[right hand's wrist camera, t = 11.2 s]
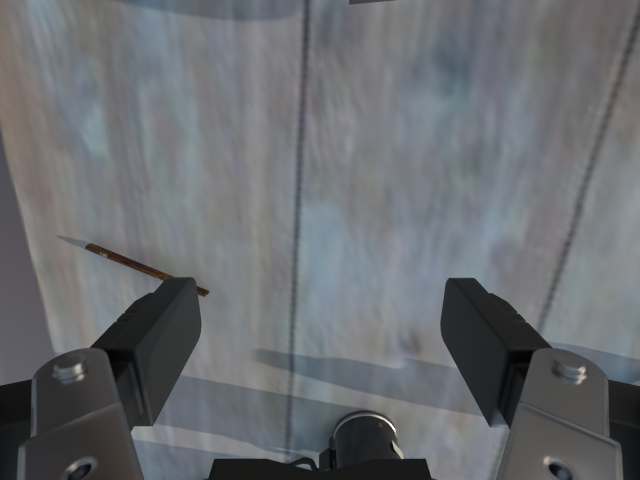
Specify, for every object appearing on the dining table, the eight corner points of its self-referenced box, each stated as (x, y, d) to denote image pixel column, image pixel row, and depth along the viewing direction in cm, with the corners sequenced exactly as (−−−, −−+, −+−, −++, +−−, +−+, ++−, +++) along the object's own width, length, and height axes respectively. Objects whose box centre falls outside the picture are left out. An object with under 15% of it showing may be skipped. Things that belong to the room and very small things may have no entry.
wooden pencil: (209, 290, 44) (207, 294, 43) (208, 293, 44) (205, 297, 43) (90, 242, 42) (85, 245, 41) (89, 245, 42) (84, 249, 41)
